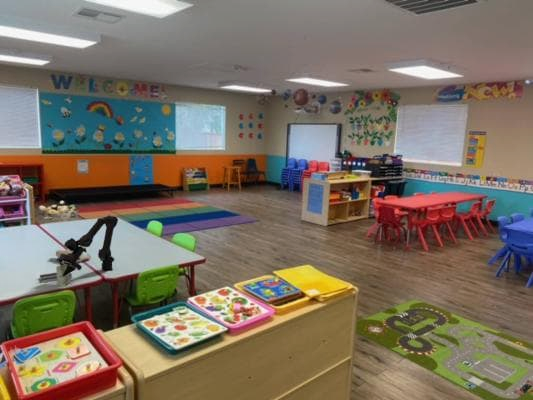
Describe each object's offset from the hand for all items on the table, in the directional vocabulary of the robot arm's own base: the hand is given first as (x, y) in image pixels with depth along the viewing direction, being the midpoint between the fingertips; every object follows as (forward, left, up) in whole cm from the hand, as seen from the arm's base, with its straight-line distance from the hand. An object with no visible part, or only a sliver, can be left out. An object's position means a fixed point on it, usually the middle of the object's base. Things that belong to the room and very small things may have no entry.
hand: (61, 275), depth 253 cm
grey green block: (-1, -1, -7) cm, 7 cm away
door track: (+3, -15, -7) cm, 16 cm away
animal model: (-9, -51, -7) cm, 53 cm away
